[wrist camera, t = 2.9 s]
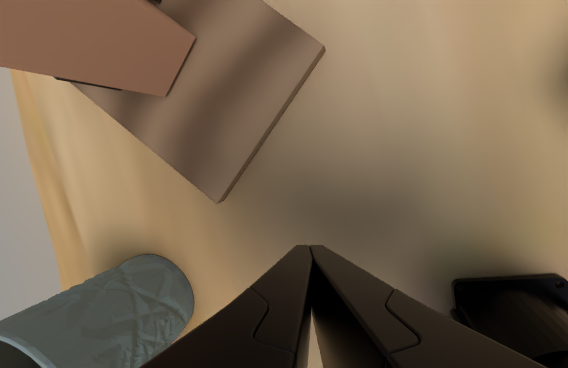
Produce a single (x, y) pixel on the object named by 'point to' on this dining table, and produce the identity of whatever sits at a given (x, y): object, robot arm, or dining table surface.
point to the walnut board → (218, 90)
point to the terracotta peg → (94, 42)
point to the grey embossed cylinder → (102, 319)
